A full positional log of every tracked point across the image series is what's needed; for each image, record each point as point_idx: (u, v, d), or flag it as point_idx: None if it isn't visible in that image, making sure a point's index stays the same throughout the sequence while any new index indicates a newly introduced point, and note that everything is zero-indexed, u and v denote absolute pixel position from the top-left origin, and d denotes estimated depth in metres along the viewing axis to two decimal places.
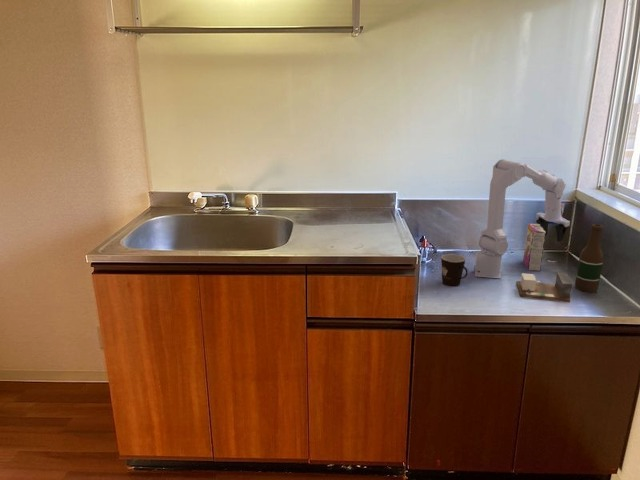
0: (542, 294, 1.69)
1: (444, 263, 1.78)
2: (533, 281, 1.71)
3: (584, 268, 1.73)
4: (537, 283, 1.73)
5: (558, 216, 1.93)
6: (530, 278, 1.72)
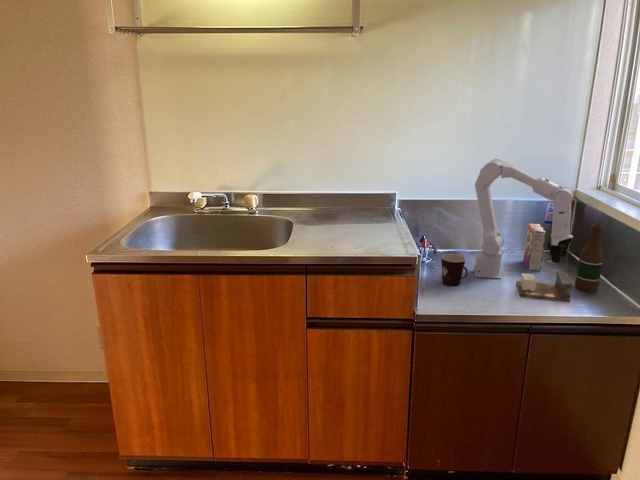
0: (542, 294, 1.69)
1: (444, 263, 1.78)
2: (533, 281, 1.71)
3: (584, 268, 1.73)
4: (537, 283, 1.73)
5: (558, 233, 1.71)
6: (530, 278, 1.72)
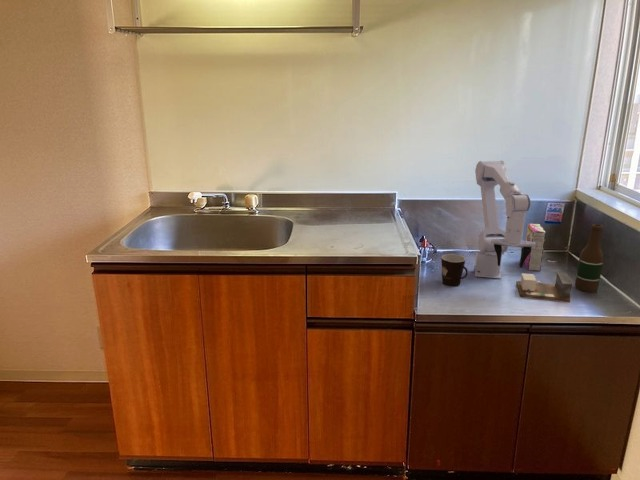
0: (542, 294, 1.69)
1: (444, 263, 1.78)
2: (533, 281, 1.71)
3: (584, 268, 1.73)
4: (537, 283, 1.73)
5: (504, 237, 1.71)
6: (530, 278, 1.72)
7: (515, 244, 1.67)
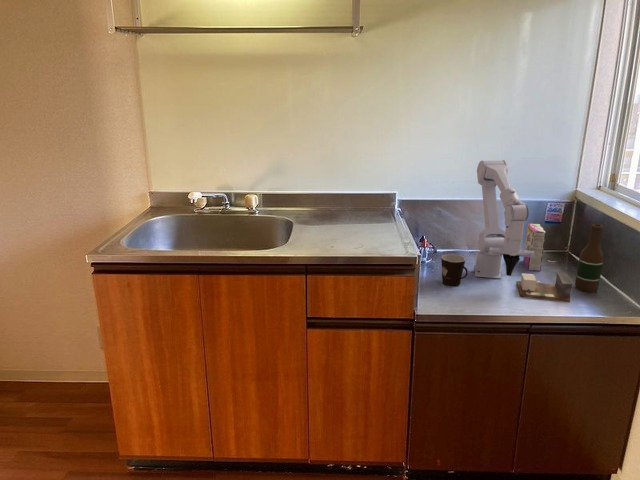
0: (542, 294, 1.69)
1: (444, 263, 1.78)
2: (533, 281, 1.71)
3: (584, 268, 1.73)
4: (537, 283, 1.73)
5: (503, 246, 1.72)
6: (530, 278, 1.72)
7: (514, 253, 1.68)
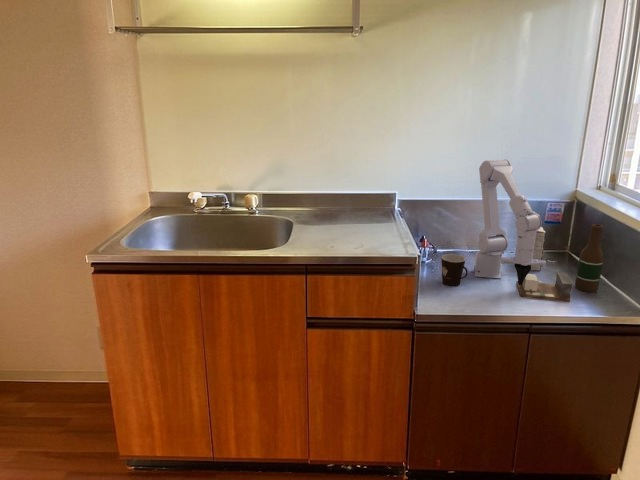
0: (542, 294, 1.69)
1: (444, 263, 1.78)
2: (535, 281, 1.70)
3: (584, 268, 1.73)
4: (539, 283, 1.73)
5: (515, 256, 1.72)
6: (532, 279, 1.72)
7: (526, 263, 1.68)
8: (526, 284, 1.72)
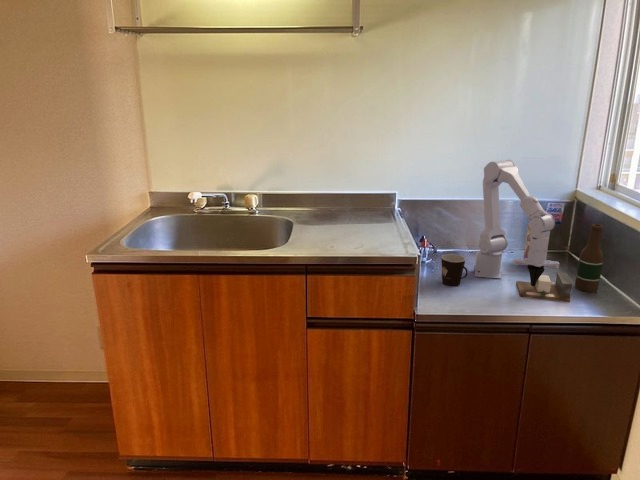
0: (542, 294, 1.69)
1: (444, 263, 1.78)
2: (548, 283, 1.69)
3: (584, 268, 1.73)
4: (552, 284, 1.71)
5: (528, 257, 1.71)
6: (545, 280, 1.71)
7: (539, 264, 1.67)
8: (539, 285, 1.70)
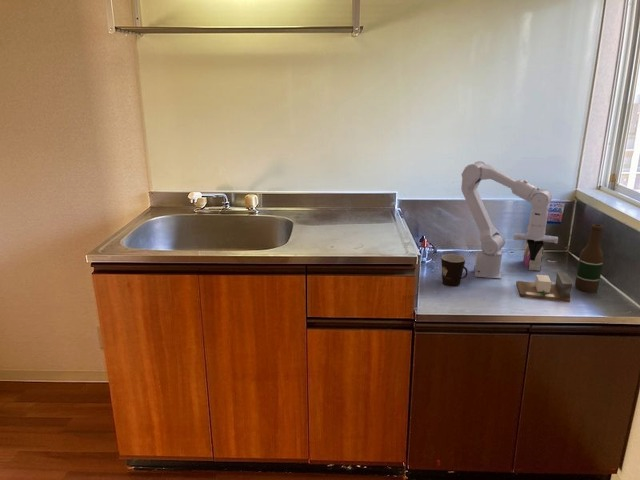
0: (542, 294, 1.69)
1: (444, 263, 1.78)
2: (548, 283, 1.69)
3: (584, 268, 1.73)
4: (552, 284, 1.71)
5: None
6: (545, 280, 1.71)
7: (538, 238, 1.73)
8: (539, 285, 1.70)
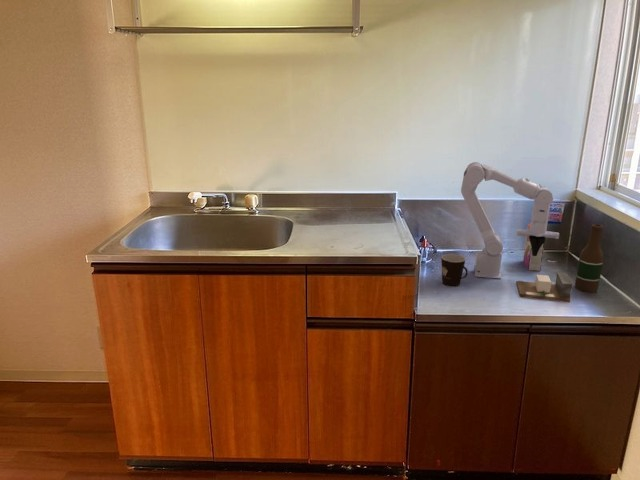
0: (542, 294, 1.69)
1: (444, 263, 1.78)
2: (548, 283, 1.69)
3: (584, 268, 1.73)
4: (552, 284, 1.71)
5: None
6: (545, 280, 1.71)
7: (540, 234, 1.77)
8: (539, 285, 1.70)
